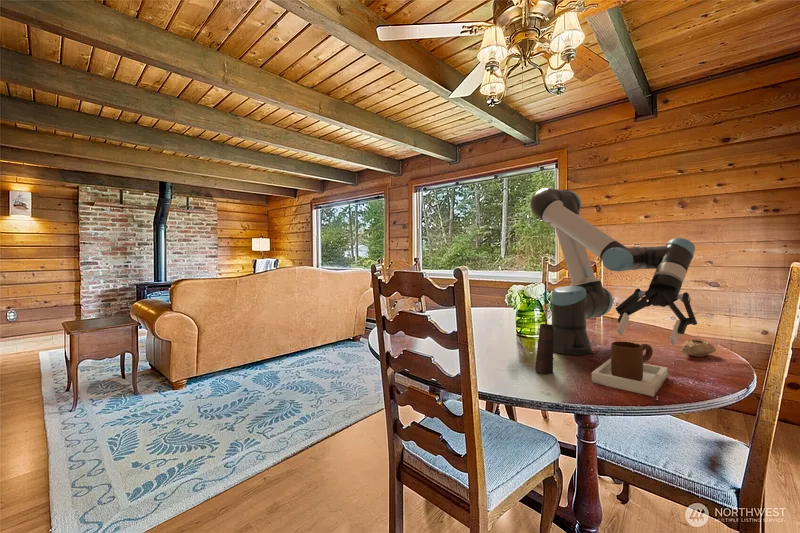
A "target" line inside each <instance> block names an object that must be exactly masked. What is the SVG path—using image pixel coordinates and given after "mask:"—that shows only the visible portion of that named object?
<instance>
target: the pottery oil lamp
mask: <svg viewBox="0 0 800 533" xmlns="http://www.w3.org/2000/svg"><path fill="white" fill-rule="evenodd" d="M680 350H681V352H682V353H683V354H685V355H688V356H689V355H690V356H692V357H697V358H698V357H699V358H702V357H705V356H708V355H711V354H712V353H714V352H716V351H717V348H716V347H715V345H713V344H711V343H710V342H709V341H706V340H702V339H696V338H690V339H687V340H686V341H684V342H683V343H682V344H681V349H680Z"/></svg>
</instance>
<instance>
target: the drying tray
mask: <svg viewBox="0 0 800 533" xmlns="http://www.w3.org/2000/svg"><path fill="white" fill-rule="evenodd" d="M667 378H668V367H665V366H661V365H660V366H659V365H654V364H648V363H645V362H643V378H642V380H641V381H636V380H632V379H627V378H622V377H617V376H612V374H611V357H610V358H609V359H606V361H605V362H603V363H602V364H601V365H599V366H597V368H595V369H594V370H593V371H592V372H591V383H593V384H597V385H602V386H606V387H610V388H615V389H619V390H623V391H628V392H632V393H637V394H641V395H646V396H648V397H649V396H650V397H655V396H656V394H657V393H658V391H659V390H660V388H661V387H662V385H663V384H664V382H666V379H667Z"/></svg>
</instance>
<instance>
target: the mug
mask: <svg viewBox="0 0 800 533" xmlns="http://www.w3.org/2000/svg"><path fill="white" fill-rule="evenodd" d="M644 351H645V353H644ZM653 352H654V350H653V347H652V346H651V345H650V344H647V343H642V344H639V343H637V342H636V343H635V342H632V341H631V342H630V341H613V342H611V348H610V358H611V374H612V376H617V377H622V378H627V379H632V380H636V381H641V380H642V378H643V363H646V362H648V361H649V360H650V359H651V358H653V357H652V356H653Z"/></svg>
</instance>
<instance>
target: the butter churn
mask: <svg viewBox="0 0 800 533" xmlns="http://www.w3.org/2000/svg"><path fill="white" fill-rule="evenodd" d="M547 283H548V282H547V281H546V280H545V281H544V319H545V320H544V321H545V322H544V323H540V325H539V331H538V332H539V333H538V340H537V348H536V349H537V350H536V357H535V364H534V365H535V368H534V370H535V372H536V373H539V374H544V375H547V374H553V373H554V352H553V343H554V342H553V325H552V323H551V324H549V323H548V313H547V312H548V308H547V307H548V306H547V305H548V303H547V299H548V298H547V297H548V295H547V292H548V291H547V290H548V288H547V286H548V285H547Z"/></svg>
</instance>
